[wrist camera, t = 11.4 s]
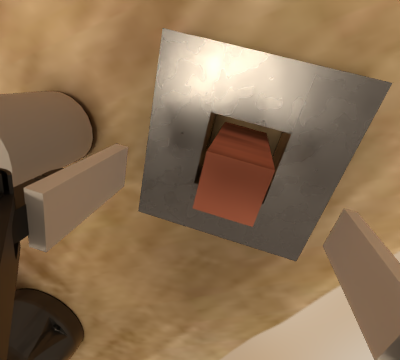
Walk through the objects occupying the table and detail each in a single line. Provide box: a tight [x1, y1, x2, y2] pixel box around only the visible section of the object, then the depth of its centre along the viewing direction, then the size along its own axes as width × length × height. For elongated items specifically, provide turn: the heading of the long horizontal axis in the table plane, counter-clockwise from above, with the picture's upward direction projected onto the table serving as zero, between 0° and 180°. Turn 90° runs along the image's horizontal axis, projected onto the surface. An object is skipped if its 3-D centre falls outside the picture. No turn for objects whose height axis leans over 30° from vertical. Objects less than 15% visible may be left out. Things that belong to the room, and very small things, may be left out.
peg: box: [193, 122, 275, 227], centre depth 19 cm, size 4×4×10 cm
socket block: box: [139, 28, 392, 261], centre depth 22 cm, size 16×16×4 cm
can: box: [0, 91, 93, 187], centre depth 21 cm, size 8×8×12 cm
